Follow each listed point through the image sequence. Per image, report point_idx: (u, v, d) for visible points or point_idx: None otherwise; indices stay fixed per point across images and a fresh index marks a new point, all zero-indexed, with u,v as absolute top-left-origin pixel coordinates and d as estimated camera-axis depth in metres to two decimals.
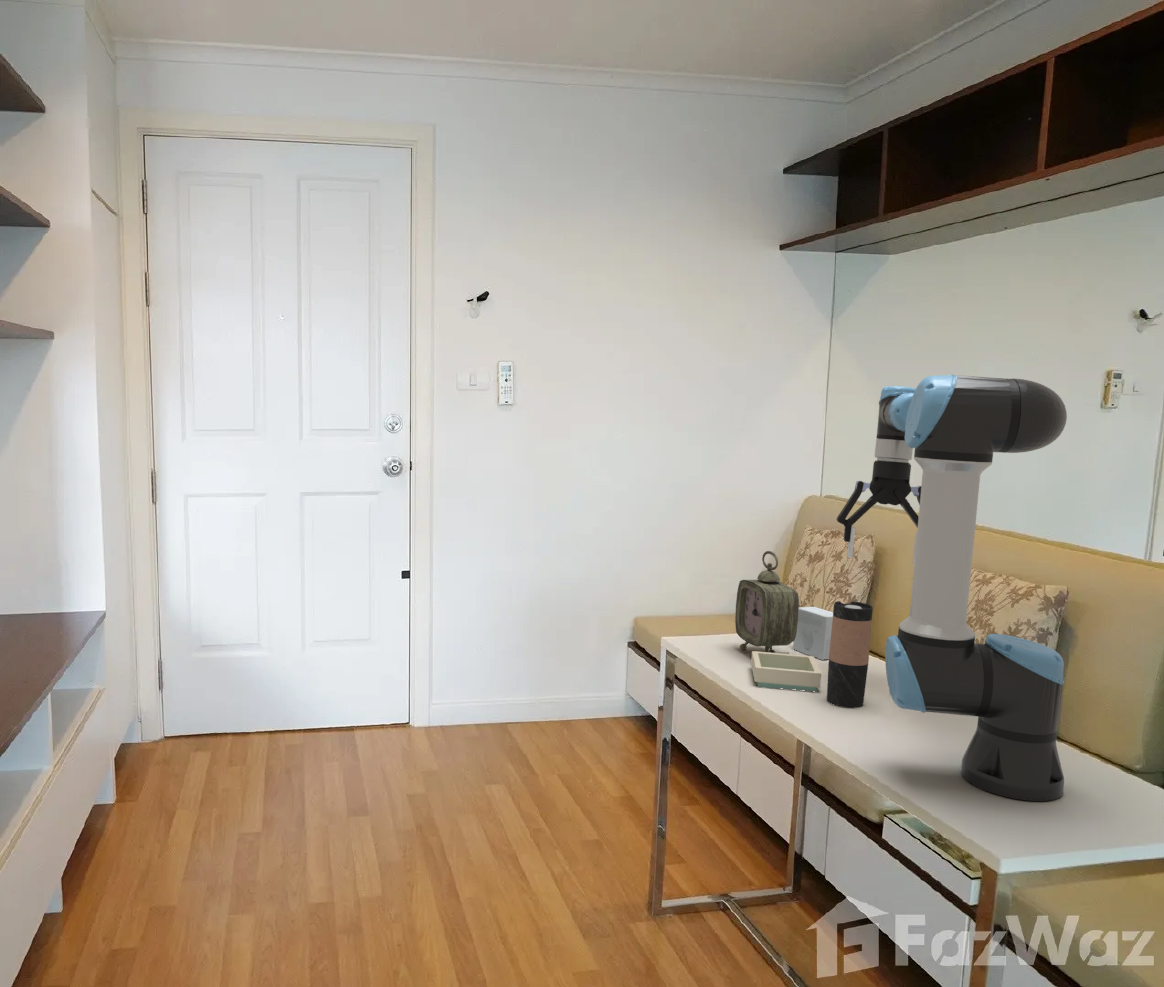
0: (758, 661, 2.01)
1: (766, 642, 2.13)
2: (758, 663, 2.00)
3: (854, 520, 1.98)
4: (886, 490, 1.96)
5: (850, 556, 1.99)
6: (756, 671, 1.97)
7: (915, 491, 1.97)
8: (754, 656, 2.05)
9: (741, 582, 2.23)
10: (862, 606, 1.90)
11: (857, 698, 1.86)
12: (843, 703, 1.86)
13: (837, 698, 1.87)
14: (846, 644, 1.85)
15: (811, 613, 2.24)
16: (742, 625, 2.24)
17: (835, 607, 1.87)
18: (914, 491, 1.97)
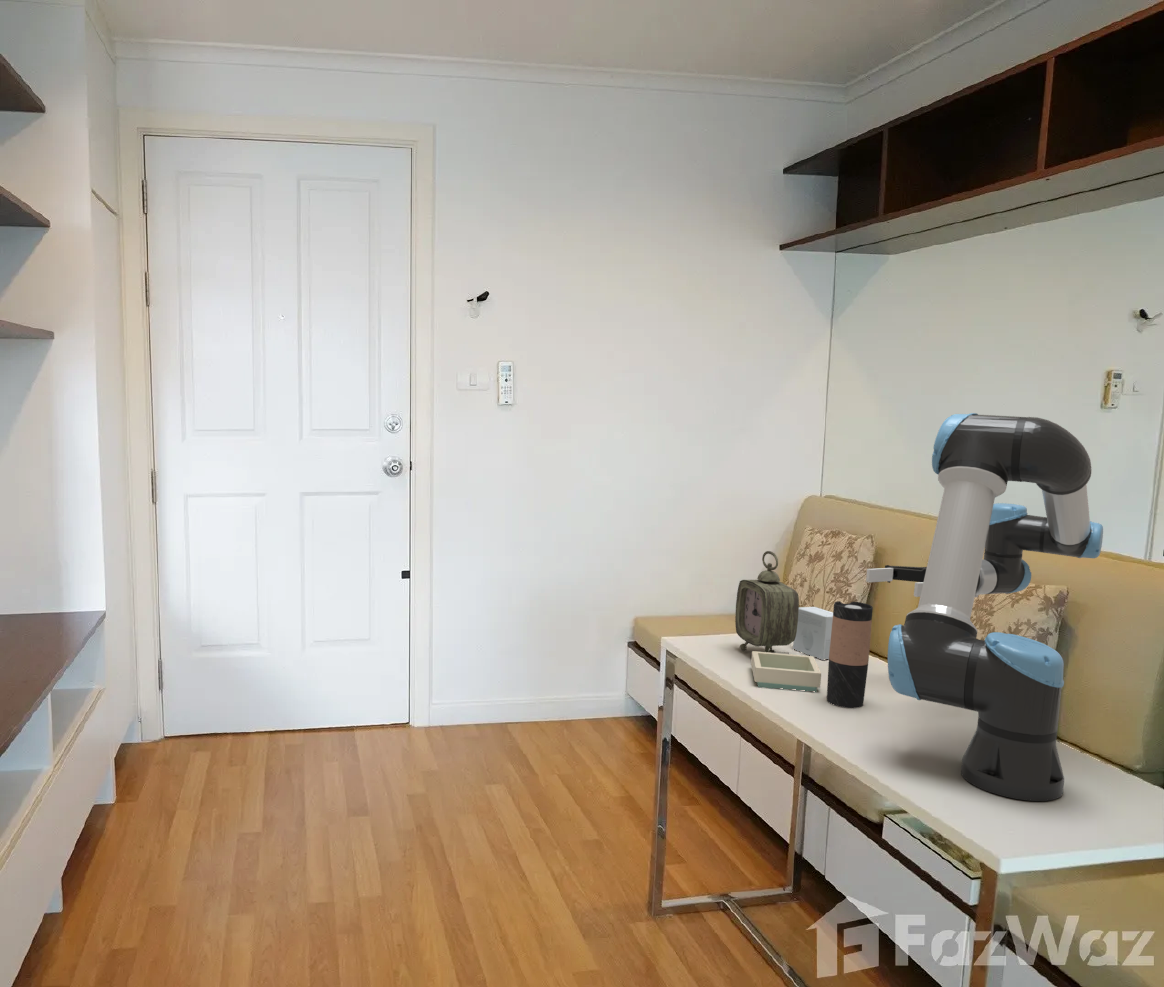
0: (758, 661, 2.01)
1: (766, 642, 2.13)
2: (758, 663, 2.00)
3: (897, 568, 2.00)
4: None
5: (869, 569, 1.97)
6: (756, 671, 1.97)
7: None
8: (754, 656, 2.05)
9: (741, 582, 2.23)
10: (862, 606, 1.90)
11: (857, 698, 1.86)
12: (843, 703, 1.86)
13: (837, 698, 1.87)
14: (846, 644, 1.85)
15: (811, 613, 2.24)
16: (742, 625, 2.24)
17: (835, 607, 1.87)
18: None
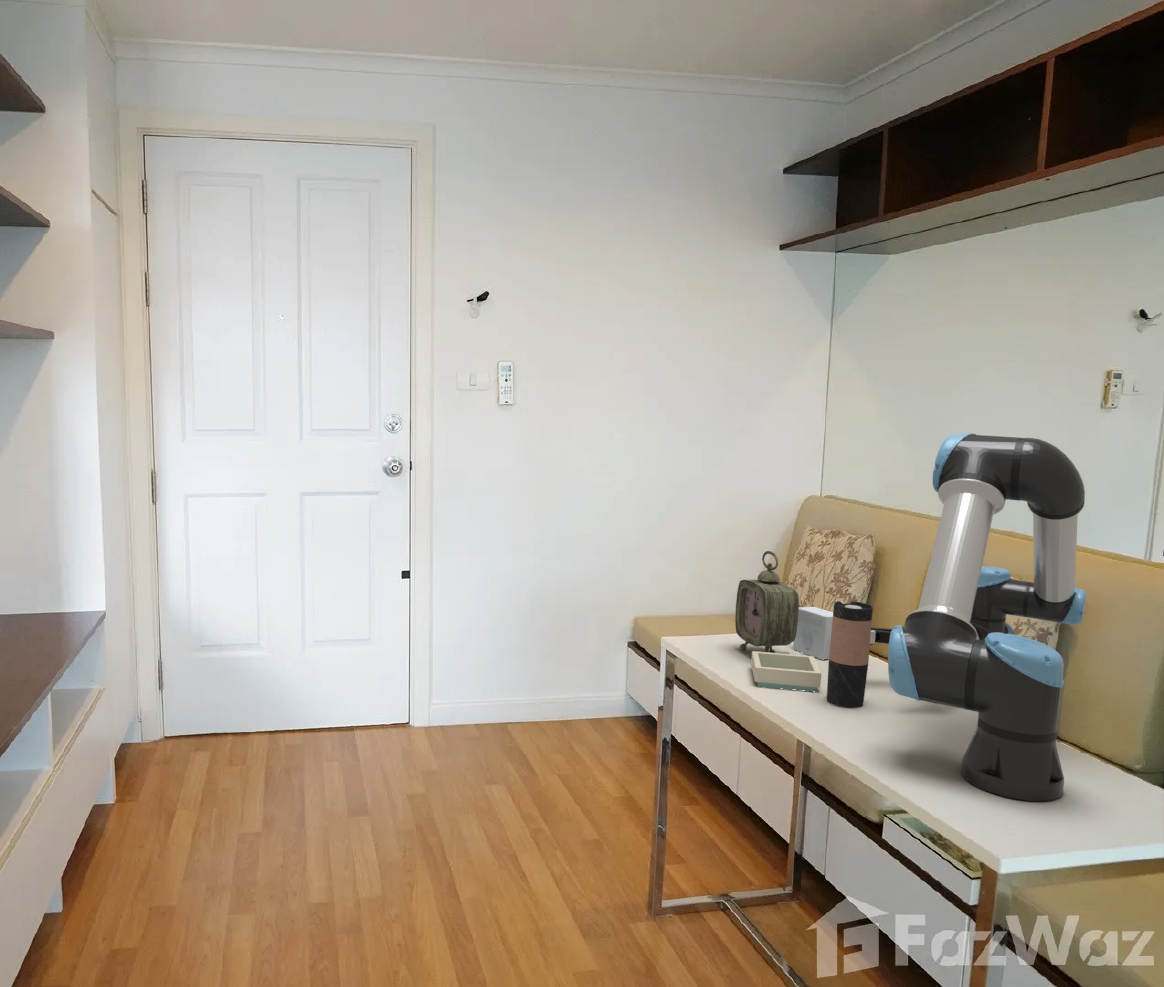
0: (758, 661, 2.01)
1: (766, 642, 2.13)
2: (758, 663, 2.00)
3: (880, 631, 2.01)
4: None
5: None
6: (756, 671, 1.97)
7: None
8: (754, 656, 2.05)
9: (741, 582, 2.23)
10: (862, 606, 1.90)
11: (857, 698, 1.86)
12: (843, 703, 1.86)
13: (837, 698, 1.87)
14: (846, 644, 1.85)
15: (811, 613, 2.24)
16: (742, 625, 2.24)
17: (835, 607, 1.87)
18: None
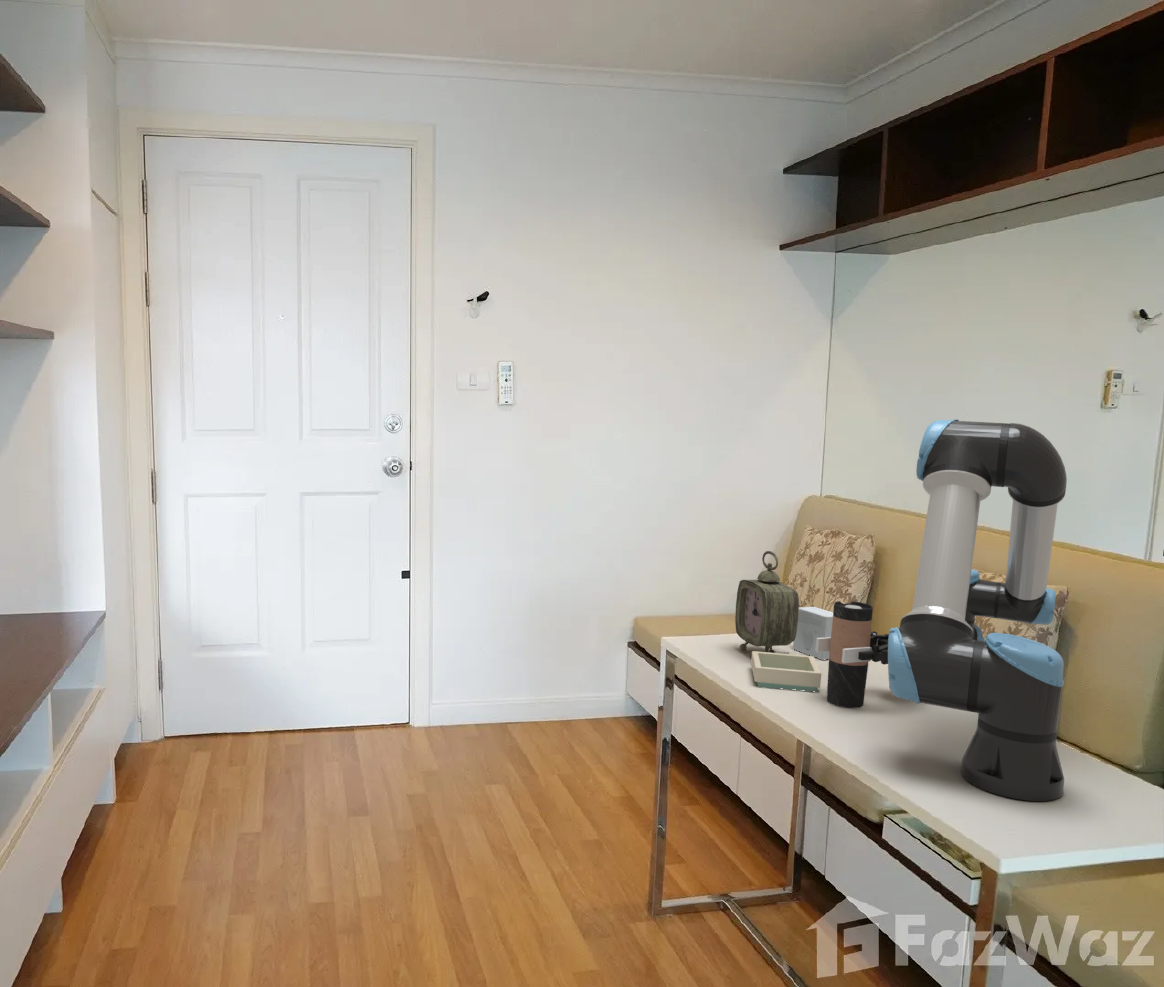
0: (758, 661, 2.01)
1: (766, 642, 2.13)
2: (758, 663, 2.00)
3: None
4: None
5: (818, 638, 1.90)
6: (756, 671, 1.97)
7: None
8: (754, 656, 2.05)
9: (741, 582, 2.23)
10: (862, 606, 1.90)
11: (858, 698, 1.86)
12: (843, 703, 1.86)
13: (838, 698, 1.87)
14: (846, 644, 1.85)
15: (811, 613, 2.24)
16: (742, 625, 2.24)
17: (835, 607, 1.87)
18: None
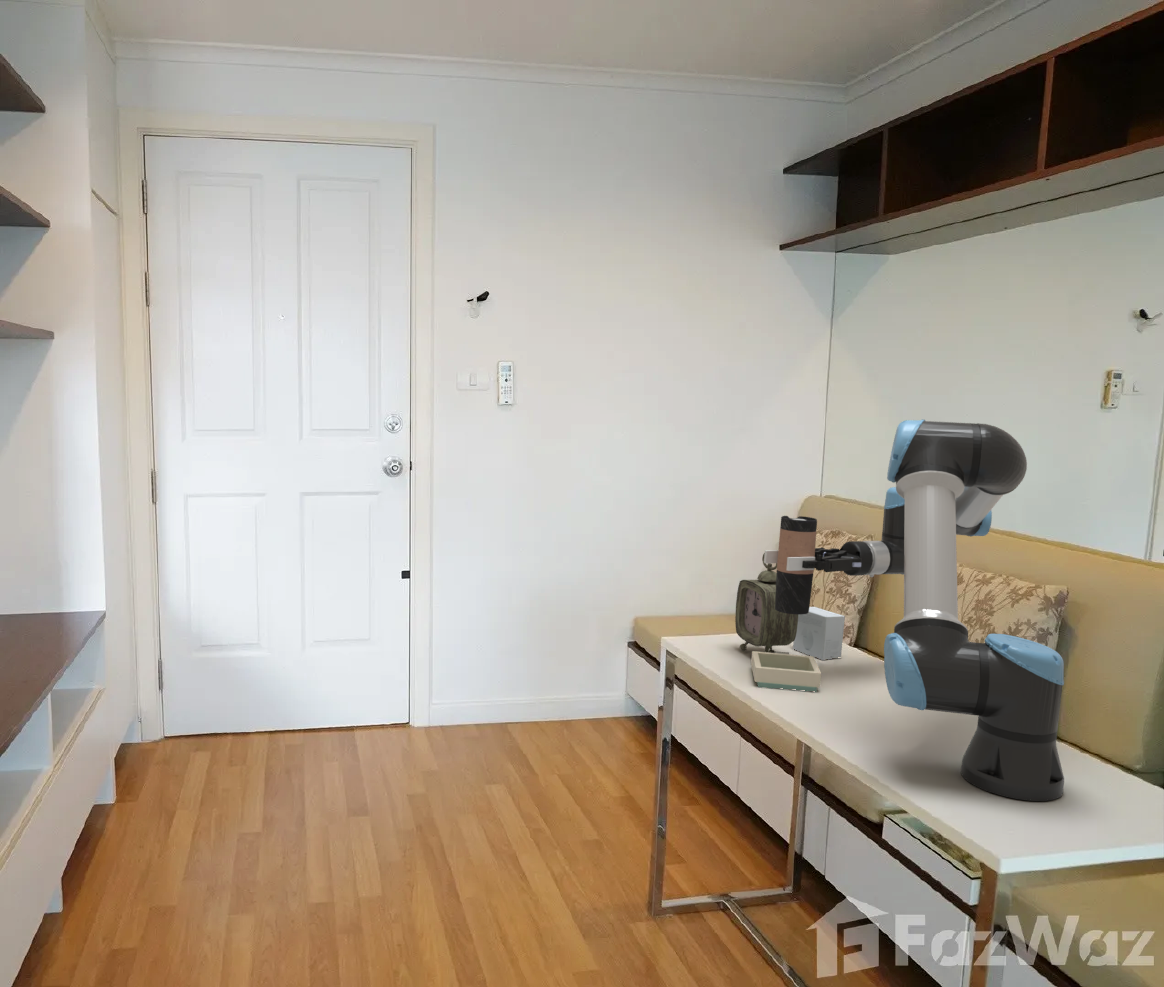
0: (758, 661, 2.01)
1: (766, 642, 2.13)
2: (758, 663, 2.00)
3: None
4: (837, 549, 2.06)
5: (767, 550, 2.02)
6: (756, 671, 1.97)
7: None
8: (754, 656, 2.05)
9: (741, 582, 2.23)
10: (808, 520, 2.01)
11: (803, 605, 1.98)
12: (789, 610, 1.98)
13: (784, 605, 1.98)
14: (792, 553, 1.97)
15: (811, 613, 2.24)
16: (742, 625, 2.24)
17: (782, 520, 1.99)
18: None
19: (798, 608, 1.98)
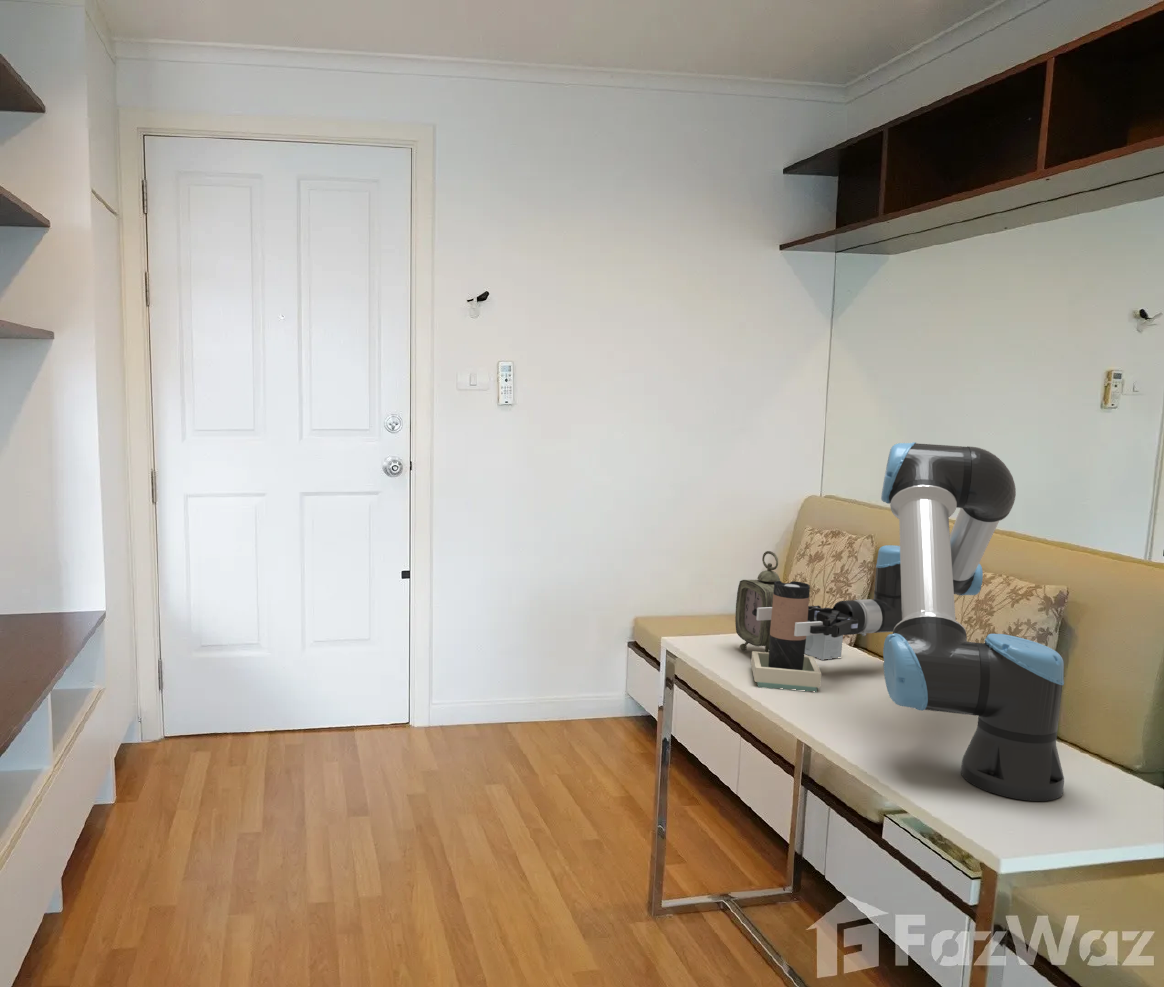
0: (758, 661, 2.01)
1: (766, 642, 2.13)
2: (758, 663, 2.00)
3: None
4: (830, 608, 2.07)
5: (759, 608, 2.06)
6: (756, 671, 1.97)
7: None
8: (754, 656, 2.05)
9: (741, 582, 2.23)
10: (801, 585, 2.03)
11: None
12: None
13: None
14: (785, 620, 1.98)
15: None
16: (742, 625, 2.24)
17: (775, 586, 2.00)
18: None
19: None
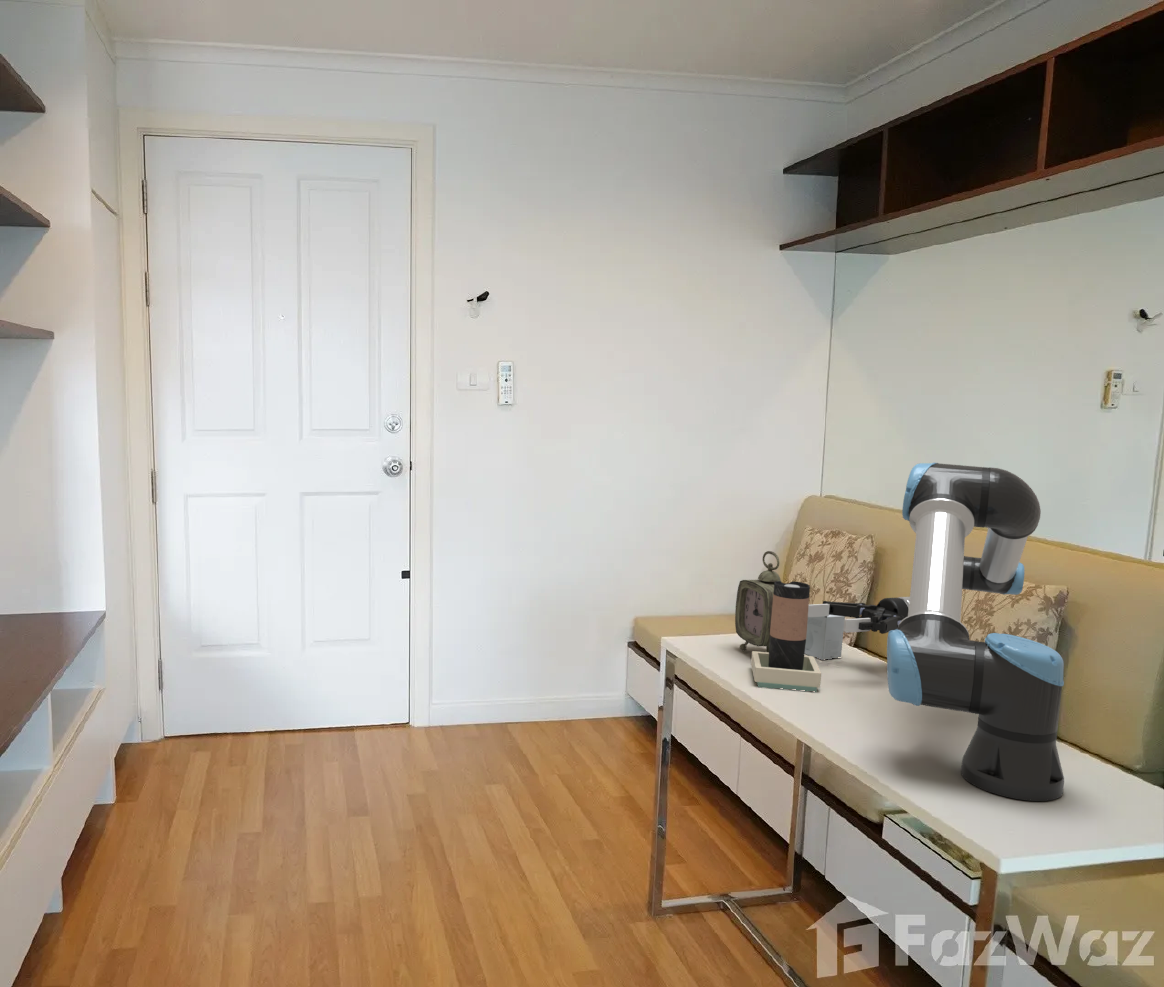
0: (758, 661, 2.01)
1: (767, 642, 2.13)
2: (758, 663, 2.00)
3: (834, 604, 2.15)
4: (875, 605, 2.12)
5: None
6: (756, 671, 1.97)
7: None
8: (754, 656, 2.05)
9: (741, 582, 2.23)
10: (801, 585, 2.03)
11: None
12: None
13: None
14: (785, 620, 1.98)
15: None
16: (742, 625, 2.23)
17: (775, 586, 2.00)
18: None
19: None
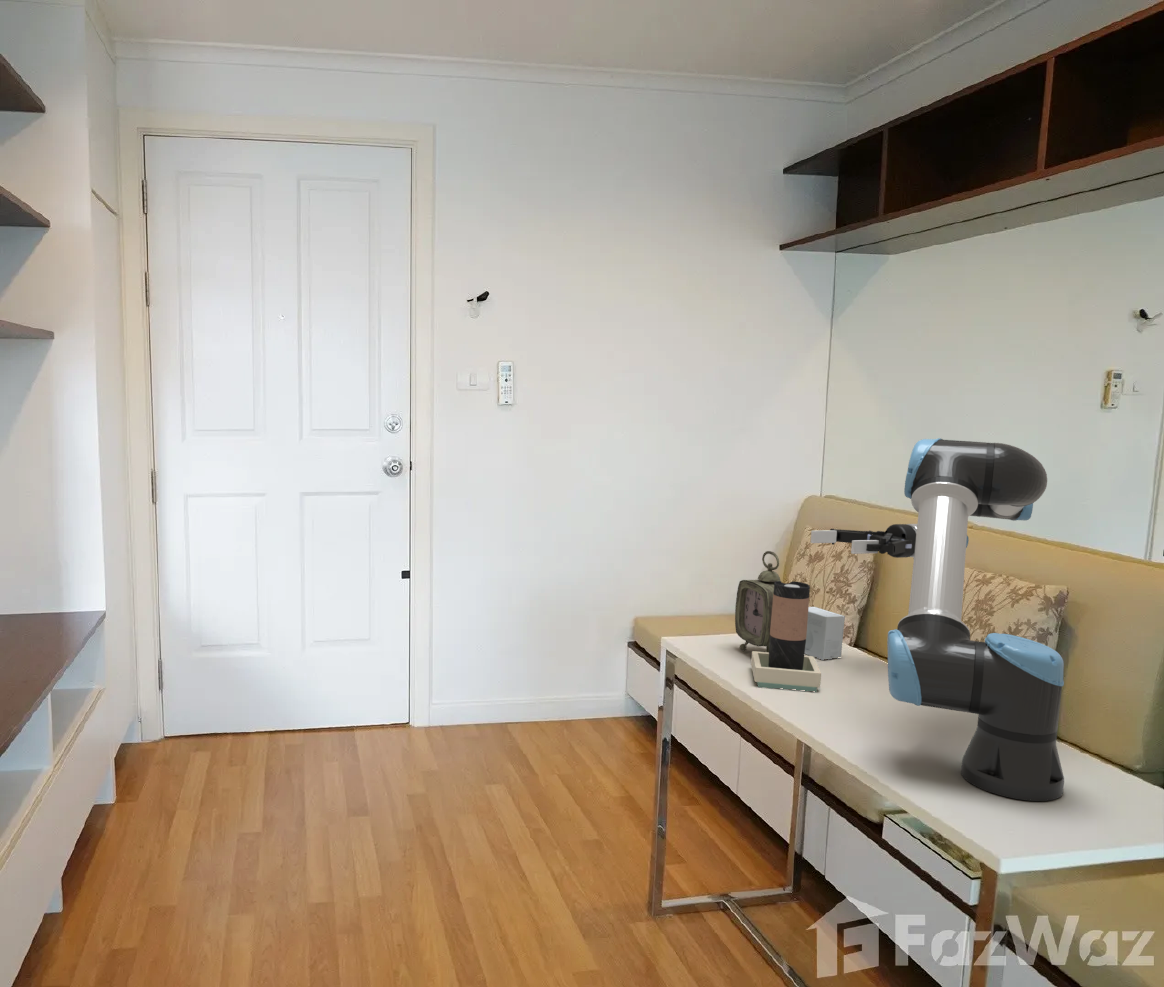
0: (758, 661, 2.01)
1: (767, 642, 2.13)
2: (758, 663, 2.00)
3: (841, 531, 2.13)
4: (883, 531, 2.10)
5: None
6: (756, 671, 1.97)
7: None
8: (754, 656, 2.05)
9: (741, 582, 2.23)
10: (801, 585, 2.03)
11: None
12: None
13: None
14: (785, 620, 1.98)
15: (811, 613, 2.24)
16: (742, 626, 2.23)
17: (775, 586, 2.00)
18: None
19: None
